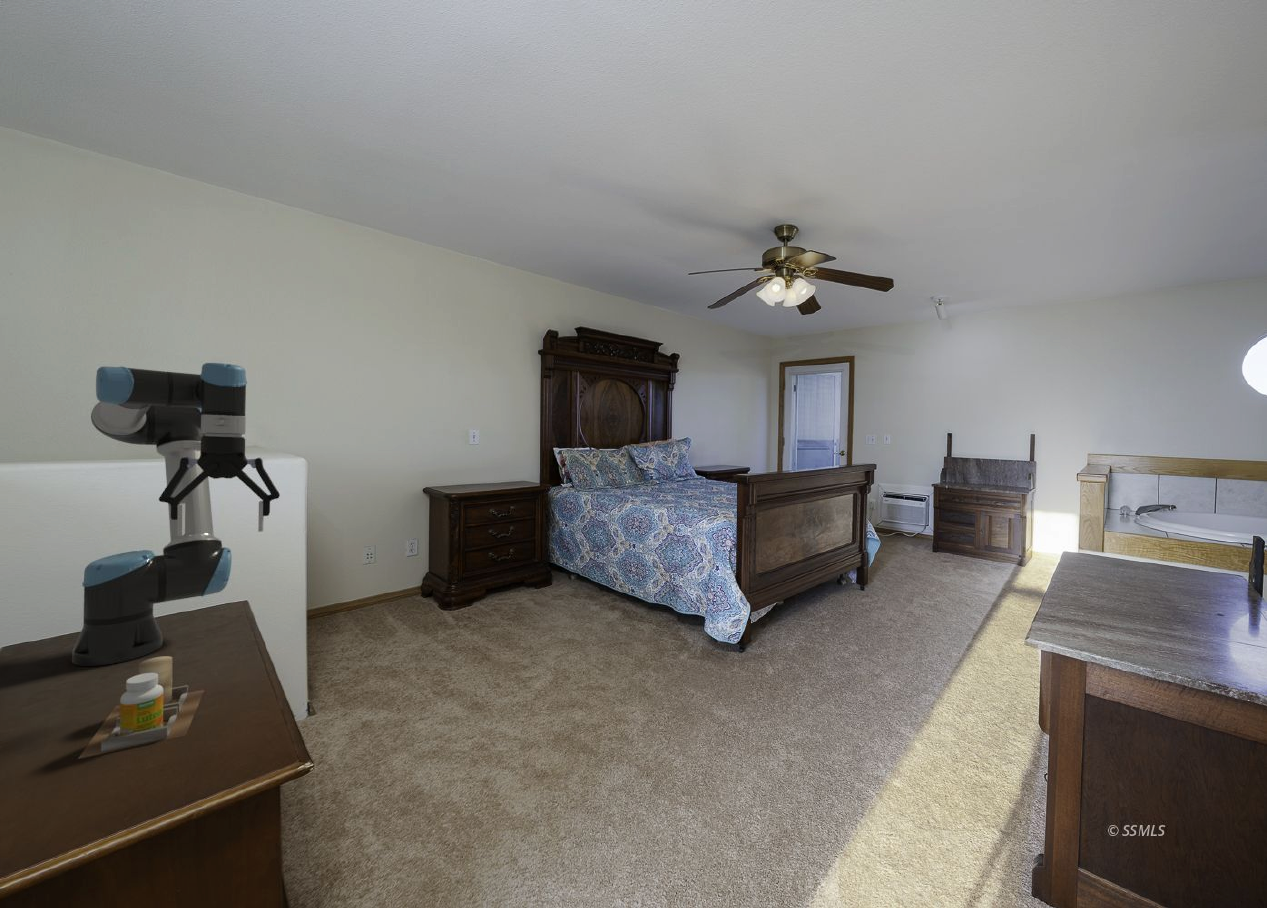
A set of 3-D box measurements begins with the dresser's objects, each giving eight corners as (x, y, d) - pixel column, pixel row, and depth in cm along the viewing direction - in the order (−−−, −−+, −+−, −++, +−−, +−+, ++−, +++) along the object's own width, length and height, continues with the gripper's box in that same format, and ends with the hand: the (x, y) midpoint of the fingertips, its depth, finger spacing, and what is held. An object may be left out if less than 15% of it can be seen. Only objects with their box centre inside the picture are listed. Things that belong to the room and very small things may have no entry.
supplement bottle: (135, 744, 84) (136, 687, 84) (111, 739, 86) (111, 683, 85) (171, 726, 90) (171, 672, 89) (147, 722, 91) (147, 669, 91)
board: (115, 712, 96) (115, 696, 95) (204, 695, 103) (204, 681, 102) (77, 766, 80) (77, 747, 80) (185, 742, 87) (185, 725, 87)
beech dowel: (142, 705, 96) (142, 659, 96) (174, 700, 98) (174, 654, 98) (135, 717, 92) (135, 669, 92) (168, 711, 94) (169, 663, 94)
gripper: (139, 433, 99) (139, 540, 100) (292, 437, 113) (290, 531, 113) (150, 433, 106) (149, 533, 106) (293, 437, 119) (292, 526, 120)
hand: (222, 532), depth 110 cm, fingers open, 13 cm apart
